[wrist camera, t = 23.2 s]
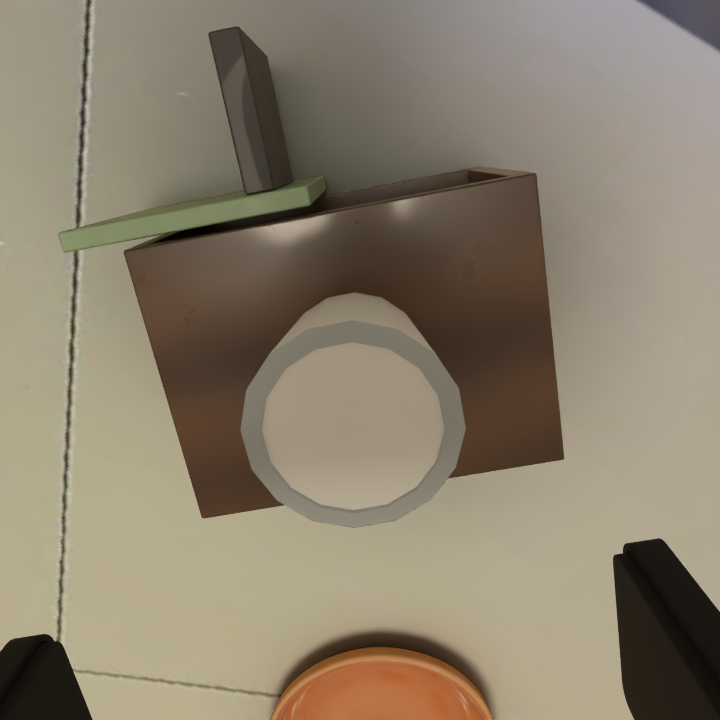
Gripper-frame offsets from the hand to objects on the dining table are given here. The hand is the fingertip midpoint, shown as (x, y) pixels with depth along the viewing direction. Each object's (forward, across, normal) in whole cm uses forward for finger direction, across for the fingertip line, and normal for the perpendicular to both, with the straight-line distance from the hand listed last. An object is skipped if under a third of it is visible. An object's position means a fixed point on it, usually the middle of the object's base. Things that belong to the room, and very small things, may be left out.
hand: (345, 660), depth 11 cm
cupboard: (+28, 0, 0) cm, 28 cm away
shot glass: (+16, 0, 0) cm, 16 cm away
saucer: (+28, +4, +31) cm, 42 cm away
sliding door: (+28, +6, -10) cm, 30 cm away
